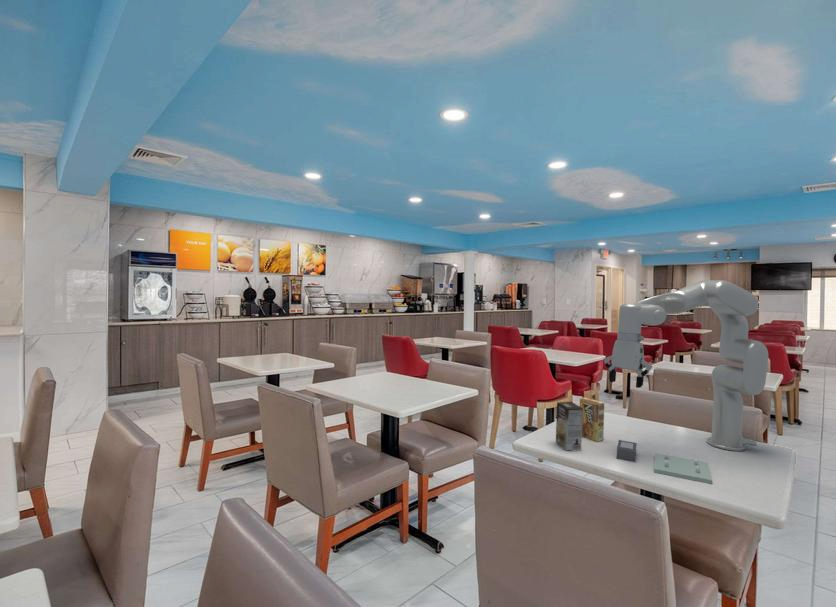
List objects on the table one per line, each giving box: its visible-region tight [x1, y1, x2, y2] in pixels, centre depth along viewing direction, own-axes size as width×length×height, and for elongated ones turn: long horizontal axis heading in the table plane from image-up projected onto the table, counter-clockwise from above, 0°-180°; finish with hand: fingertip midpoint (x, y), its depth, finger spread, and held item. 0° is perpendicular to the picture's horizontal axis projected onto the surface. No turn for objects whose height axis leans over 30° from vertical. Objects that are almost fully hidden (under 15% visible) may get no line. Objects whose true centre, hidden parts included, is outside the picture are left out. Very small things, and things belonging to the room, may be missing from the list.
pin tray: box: [653, 452, 713, 485], centre depth 147 cm, size 16×16×3 cm
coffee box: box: [555, 401, 583, 451], centre depth 166 cm, size 9×6×16 cm
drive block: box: [616, 439, 638, 463], centre depth 158 cm, size 6×10×4 cm, turn 152°
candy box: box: [579, 397, 605, 442], centre depth 176 cm, size 9×4×15 cm, turn 33°
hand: (625, 384), depth 159 cm, fingers open, 9 cm apart
